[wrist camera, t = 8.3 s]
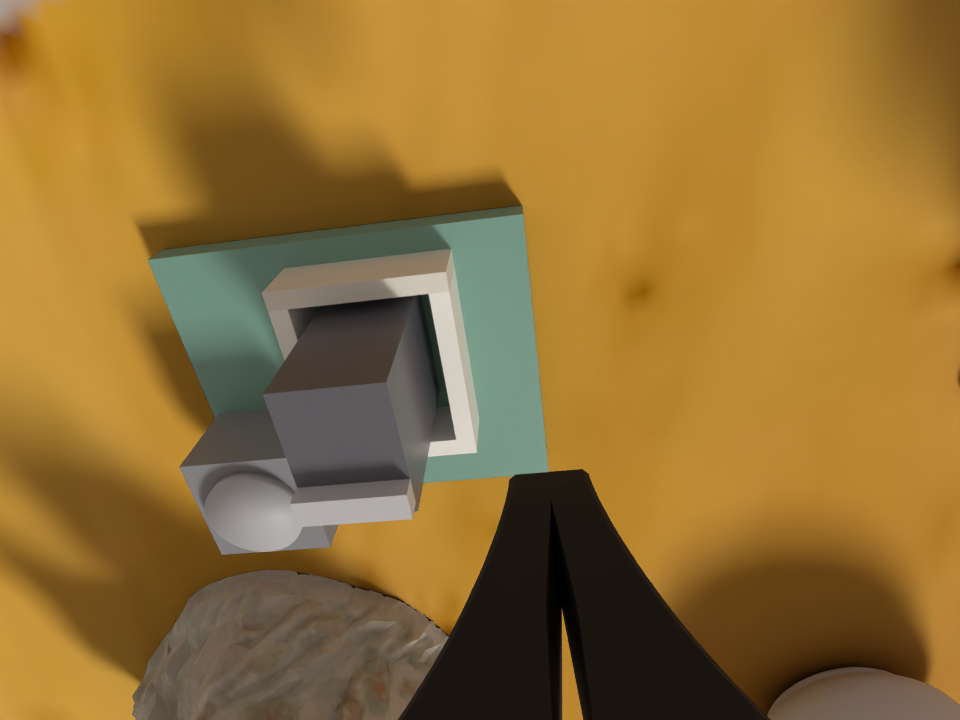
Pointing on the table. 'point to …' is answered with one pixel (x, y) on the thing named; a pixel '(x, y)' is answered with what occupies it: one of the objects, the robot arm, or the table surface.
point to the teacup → (863, 698)
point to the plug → (357, 412)
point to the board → (344, 279)
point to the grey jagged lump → (288, 653)
